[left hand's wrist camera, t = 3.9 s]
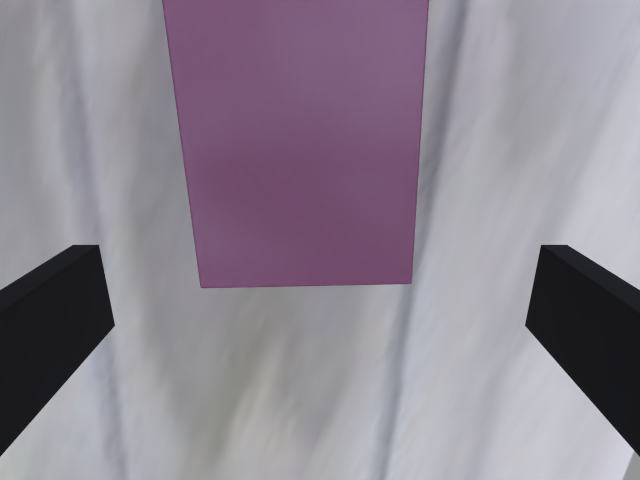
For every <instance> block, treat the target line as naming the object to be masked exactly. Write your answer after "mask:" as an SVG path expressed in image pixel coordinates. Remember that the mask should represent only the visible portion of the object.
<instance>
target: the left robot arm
mask: <svg viewBox="0 0 640 480" xmlns="http://www.w3.org/2000/svg"><path fill="white" fill-rule="evenodd" d="M114 326H115V324H114V319H113V314H112V309H111V304H110V299H109V294H108V289H107V284H106V279H105V274H104V269H103V264H102V259H101V254H100V249H99V245H72V246H71V247H69V248H67V249H66V250H64V251H63V252H61V253H59V254H58V255H56V256H54V257H53V258H51V259H50V260H48V261H46V262H45V263H43V264H42V265H40V266H38V267H37V268H35V269H34V270H32V271H30V272H29V273H27V274H26V275H24V276H22V277H21V278H19V279H18V280H16V281H14V282H13V283H11V284H10V285H8V286H6V287H5V288H3V289H2V290H0V456H1V455H2V454H3V453H4V452H5V451H6V449H7V448H8V447H9V446H10V445H11V444H12V443H13V441H14V440H15V439H16V438H17V437H18V436H19V435H20V433H21V432H22V431H23V430H24V429H25V428H26V427H27V425H28V424H29V423H30V422H31V421H32V420H33V419H34V417H35V416H36V415H37V414H38V413H39V412H40V411H41V409H42V408H43V407H44V406H45V405H46V404H47V403H48V401H49V400H50V399H51V398H52V397H53V396H54V395H55V393H56V392H57V391H58V390H59V389H60V388H61V387H62V385H63V384H64V383H65V382H66V381H67V380H68V379H69V377H70V376H71V375H72V374H73V373H74V372H75V371H76V369H77V368H78V367H79V366H80V365H81V364H82V363H83V361H84V360H85V359H86V358H87V357H88V356H89V355H90V353H91V352H92V351H93V350H94V349H95V348H96V347H97V345H98V344H99V343H100V342H101V341H102V340H103V339H104V337H105V336H106V335H107V334H108V333H109V332H110V331H111V329H112V328H113V327H114ZM525 326H526V327H527V328H528V329H529V331H530V332H531V333H532V334H533V335H534V336H535V337H536V339H537V340H538V341H539V342H540V343H541V344H542V345H543V347H544V348H545V349H546V350H547V351H548V352H549V353H550V355H551V356H552V357H553V358H554V359H555V360H556V361H557V363H558V364H559V365H560V366H561V367H562V368H563V369H564V371H565V372H566V373H567V374H568V375H569V376H570V377H571V379H572V380H573V381H574V382H575V383H576V384H577V385H578V387H579V388H580V389H581V390H582V391H583V392H584V393H585V395H586V396H587V397H588V398H589V399H590V400H591V401H592V403H593V404H594V405H595V406H596V407H597V408H598V409H599V411H600V412H601V413H602V414H603V415H604V416H605V417H606V419H607V420H608V421H609V422H610V423H611V424H612V425H613V427H614V428H615V429H616V430H617V431H618V432H619V433H620V435H621V436H622V437H623V438H624V439H625V440H626V441H627V443H628V444H629V445H630V446H631V447H632V448H633V449H634V451H635V452H636V453H637V454H638V455H639V456H640V290H638V289H637V288H635V287H634V286H632V285H630V284H629V283H627V282H626V281H624V280H622V279H621V278H619V277H618V276H616V275H614V274H613V273H611V272H610V271H608V270H606V269H605V268H603V267H602V266H600V265H598V264H597V263H595V262H594V261H592V260H590V259H589V258H587V257H586V256H584V255H582V254H581V253H579V252H577V251H576V250H574V249H573V248H571V247H569V246H568V245H541V249H540V254H539V259H538V264H537V269H536V274H535V279H534V284H533V289H532V294H531V299H530V304H529V309H528V314H527V319H526V324H525Z"/></svg>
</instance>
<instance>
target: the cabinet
mask: <svg viewBox="0 0 640 480" xmlns="http://www.w3.org/2000/svg"><path fill="white" fill-rule="evenodd" d="M162 2H163V9H164V17H165V24H166V32H167V39H168V47H169V54H170V62H171V69H172V77H173V84H174V92H175V99H176V107H177V114H178V122H179V129H180V137H181V144H182V152H183V159H184V166H185V174H186V181H187V189H188V196H189V204H190V211H191V219H192V226H193V234H194V241H195V249H196V256H197V264H198V271H199V279H200V286H201V288H231V287H281V286H331V285H381V284H411V283H412V269H413V253H414V237H415V220H416V204H417V187H418V171H419V154H420V138H421V121H422V105H423V89H424V72H425V56H426V39H427V23H428V6H429V0H162Z"/></svg>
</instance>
